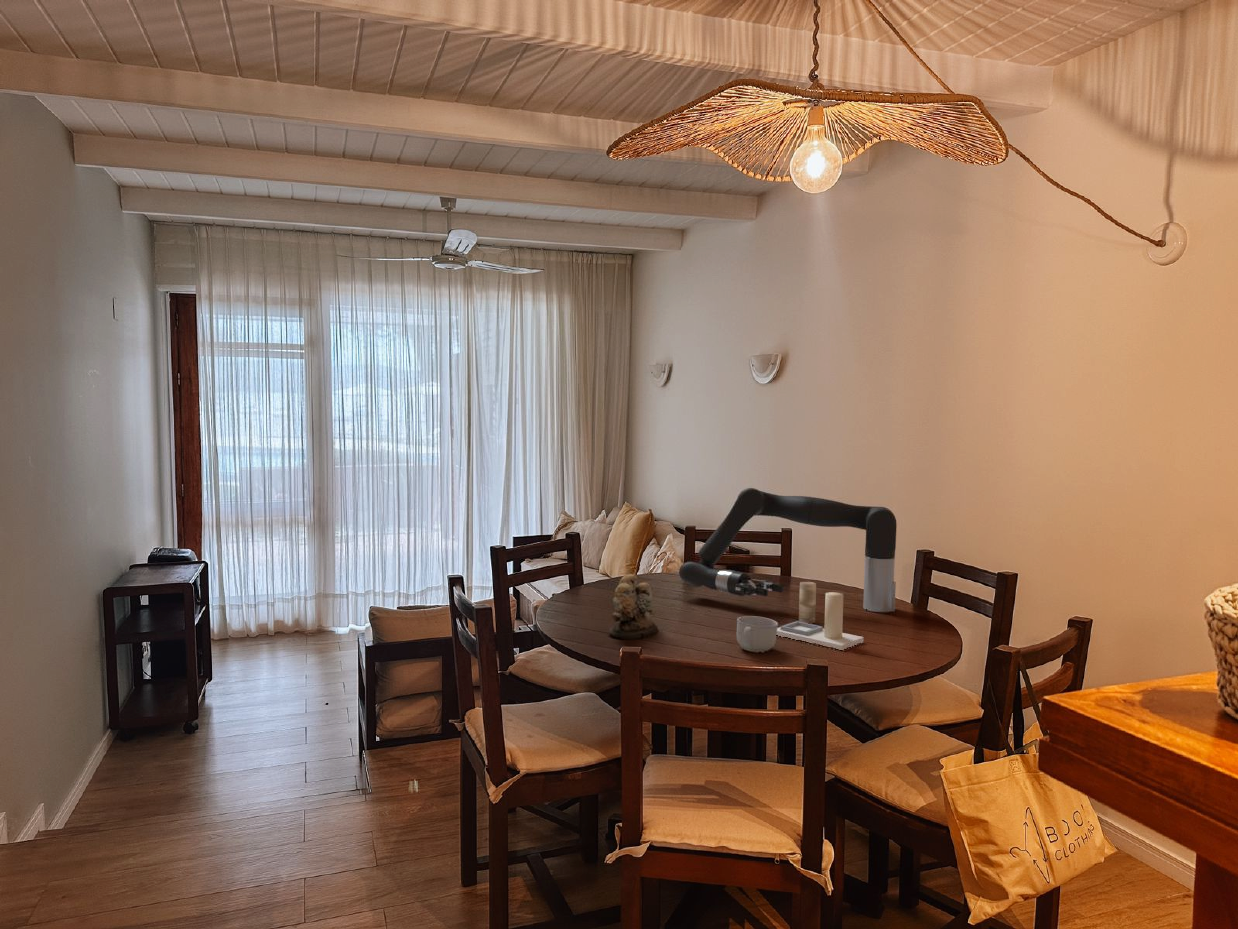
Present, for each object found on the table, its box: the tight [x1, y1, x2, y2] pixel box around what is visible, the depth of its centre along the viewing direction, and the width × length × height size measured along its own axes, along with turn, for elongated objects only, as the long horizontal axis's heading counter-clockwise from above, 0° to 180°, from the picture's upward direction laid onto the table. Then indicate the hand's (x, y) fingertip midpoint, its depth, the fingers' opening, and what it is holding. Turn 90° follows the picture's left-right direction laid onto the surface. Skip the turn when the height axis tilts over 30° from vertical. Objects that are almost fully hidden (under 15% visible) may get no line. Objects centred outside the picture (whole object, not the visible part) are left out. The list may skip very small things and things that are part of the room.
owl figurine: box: [608, 573, 659, 640], centre depth 236 cm, size 18×12×17 cm, turn 145°
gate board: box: [777, 591, 864, 651], centre depth 232 cm, size 22×12×14 cm, turn 46°
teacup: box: [736, 615, 779, 653], centre depth 220 cm, size 14×11×8 cm
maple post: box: [798, 581, 817, 624], centre depth 250 cm, size 5×5×12 cm
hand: (775, 591), depth 258 cm, fingers open, 8 cm apart
